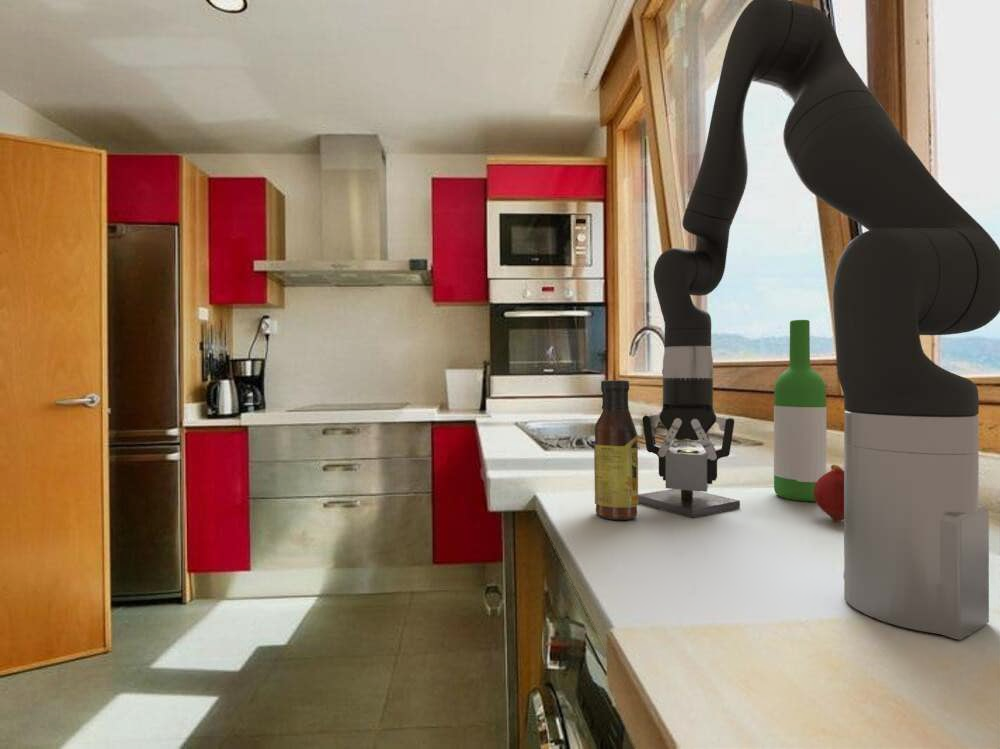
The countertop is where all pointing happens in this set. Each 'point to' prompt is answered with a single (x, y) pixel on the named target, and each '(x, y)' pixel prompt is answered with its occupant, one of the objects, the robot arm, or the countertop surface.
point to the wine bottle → (799, 421)
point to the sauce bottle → (616, 455)
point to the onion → (831, 493)
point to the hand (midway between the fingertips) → (687, 481)
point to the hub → (688, 501)
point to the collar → (687, 470)
